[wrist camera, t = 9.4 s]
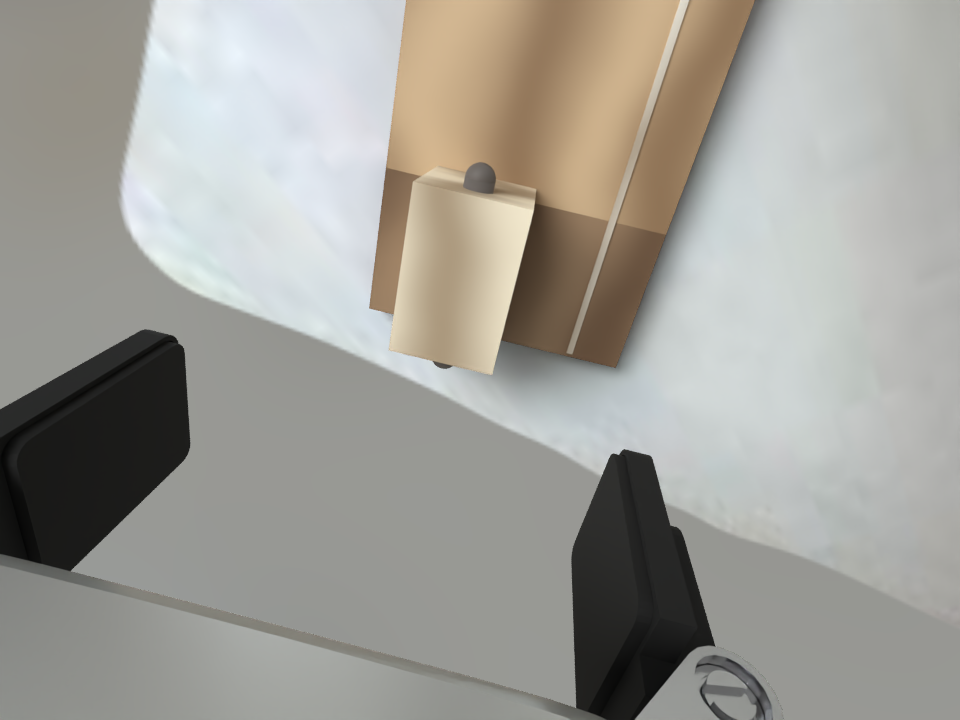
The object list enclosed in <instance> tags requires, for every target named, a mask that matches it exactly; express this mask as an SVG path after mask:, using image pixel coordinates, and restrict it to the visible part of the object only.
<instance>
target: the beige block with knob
mask: <svg viewBox="0 0 960 720" xmlns="http://www.w3.org/2000/svg"><path fill="white" fill-rule="evenodd" d="M535 197H536V189H534V188H530V187H526V186H522V185H517V184H513V183H509V182H505V181H501V180H497V179H496V175H495V172H494V170H493V168H492V167H491V166H490V165H488V164H486V163H483V162H478V163H474V164H473V165H471V166H470V167H469V168H468V169H467V171H466V172H463V171H459V170H455V169H451V168H447V167H442V166H437V167H435V168H434V169H432V170H431V171H429V172H427V173H426V174H424V175H423V176H421V177H419V178H418V179H416V180H415V181H413V185H412V192H411V199H410V206H409V213H408V220H407V226H406V233H405V240H404V247H403V254H402V261H401V268H400V275H399V282H398V289H397V296H396V303H395V310H394V317H393V324H392V330H391V337H390V344H389V350H390V351H394V352H398V353H402V354H406V355H410V356H415V357H419V358H423V359H427V360H431V361H433V362H434V364H435V365H436V366H437V367H439V368H443V369H447V368H450V367H452V366H456V367H460V368H464V369H468V370H472V371H476V372H481V373H485V374H489V375H492V373H493V369H494V365H495V361H496V357H497V354H498V350H499V346H500V342H501V338H502V334H503V330H504V326H505V322H506V318H507V314H508V310H509V306H510V302H511V298H512V295H513V291H514V287H515V283H516V279H517V275H518V271H519V267H520V263H521V259H522V255H523V251H524V247H525V243H526V240H527V236H528V232H529V228H530V224H531V220H532V216H533V212H534V205H535Z"/></svg>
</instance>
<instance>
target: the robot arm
mask: <svg viewBox="0 0 960 720" xmlns="http://www.w3.org/2000/svg"><path fill="white" fill-rule="evenodd" d="M189 448H190V432H189V416H188V400H187V385H186V368H185V353H184V348H183V346H181V345H180V344H178V341H177V339H176V338H175V337H174V336H172V335H168V334H164V333H159V332H156V331H152V330H142V331H140V332H138V333H136V334H134V335H132V336H130V337H129V338H127V339H125V340H123V341H122V342H120V343H118V344H116V345H115V346H113V347H111V348H109V349H107V350H105V351H104V352H102V353H100V354H99V355H97V356H95V357H93V358H91V359H89V360H88V361H86V362H84V363H82V364H80V365H79V366H77V367H75V368H73V369H72V370H70V371H68V372H66V373H64V374H63V375H61V376H59V377H57V378H55V379H54V380H52V381H50V382H49V383H47V384H45V385H43V386H41V387H39V388H38V389H36V390H34V391H32V392H31V393H29V394H27V395H25V396H23V397H22V398H20V399H18V400H16V401H14V402H13V403H11V404H9V405H7V406H5V407H4V408H2V409H0V720H784V718H783V712H782V708H781V705H780V703H779V700H778V698H777V696H776V694H775V692H774V691H773V689H772V688H771V686H770V685H769V683H768V682H767V681H766V679H765V678H764V677H763V676H762V675H761V674H760V673H759V672H758V671H757V670H756V669H755V668H754V667H753V666H752V665H751V664H750V663H748V662H747V661H746V660H744V659H743V658H741V657H740V656H739V655H737V654H735V653H733V652H730V651H728V650H726V649H724V648H720V647H715V644H714V640H713V637H712V634H711V630H710V627H709V623H708V620H707V616H706V613H705V609H704V606H703V602H702V599H701V596H700V592H699V589H698V585H697V582H696V578H695V575H694V571H693V568H692V565H691V562H690V558H689V554H688V551H687V547H686V544H685V540H684V537H683V535H682V532H681V531H680V530H679V529H678V528H677V527H673V526H670V523H669V519H668V516H667V512H666V508H665V504H664V500H663V497H662V493H661V489H660V485H659V482H658V478H657V474H656V470H655V467H654V463H653V459H652V457H651V456H649V455H645V454H641V453H637V452H633V451H629V450H625V449H624V450H622V451H621V453H620V455H617V454H612V455H611V456H610V458H609V460H608V463H607V465H606V467H605V470H604V472H603V475H602V477H601V480H600V482H599V484H598V488H597V490H596V492H595V494H594V497H593V499H592V501H591V504H590V506H589V509H588V511H587V514H586V516H585V518H584V521H583V523H582V526H581V528H580V531H579V533H578V536H577V538H576V540H575V543H574V546H573V551H572V592H573V620H574V621H573V622H574V652H575V679H576V680H575V681H576V708H574V707H571V706H568V705H565V704H562V703H559V702H556V701H553V700H550V699H547V698H543V697H540V696H536V695H533V694H529V693H526V692H523V691H519V690H516V689H512V688H508V687H505V686H501V685H498V684H495V683H491V682H488V681H484V680H480V679H477V678H474V677H470V676H467V675H463V674H459V673H455V672H452V671H448V670H445V669H441V668H437V667H433V666H430V665H426V664H422V663H418V662H414V661H411V660H407V659H403V658H399V657H396V656H392V655H389V654H385V653H381V652H377V651H373V650H370V649H366V648H362V647H359V646H355V645H351V644H347V643H344V642H340V641H336V640H333V639H329V638H325V637H321V636H317V635H314V634H310V633H306V632H302V631H298V630H295V629H291V628H287V627H283V626H279V625H276V624H272V623H268V622H264V621H260V620H256V619H253V618H249V617H245V616H241V615H237V614H234V613H230V612H226V611H222V610H218V609H214V608H211V607H207V606H203V605H199V604H195V603H191V602H188V601H183V600H180V599H176V598H172V597H168V596H164V595H160V594H157V593H153V592H149V591H145V590H141V589H137V588H133V587H129V586H126V585H122V584H118V583H114V582H110V581H106V580H102V579H98V578H94V577H90V576H86V575H82V574H79V573H75V572H71V570H72V569H73V568H74V567H75V566H76V565H77V564H78V563H79V562H80V561H81V560H82V559H83V558H84V557H85V556H86V555H87V554H88V553H89V552H90V551H91V550H92V549H93V548H94V547H95V546H97V545H98V544H99V543H100V542H101V541H102V540H103V539H104V538H105V537H106V536H107V535H108V534H109V533H110V532H111V531H112V530H113V529H114V528H115V527H116V526H117V525H118V524H119V523H120V522H121V521H122V520H123V519H124V518H125V517H126V516H127V515H128V514H129V513H130V512H131V511H132V510H133V509H134V508H135V507H137V506H138V505H139V504H140V503H141V502H142V501H143V500H144V499H145V498H146V497H147V496H148V495H149V494H150V493H151V492H152V491H153V490H154V489H155V488H156V487H157V486H158V485H159V484H160V483H161V482H162V481H163V480H164V479H165V478H166V477H167V476H168V475H169V474H170V473H171V472H172V471H174V470H175V469H176V467H178V466H179V465H180V464H181V463H182V462H183V461H184V459H185V458H186V456H187V455H188V452H189Z"/></svg>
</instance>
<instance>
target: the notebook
mask: <svg viewBox="0 0 960 720" xmlns="http://www.w3.org/2000/svg"><path fill="white" fill-rule="evenodd" d="M754 1H755V0H406V6H405V15H404V23H403V31H402V40H401V48H400V56H399V65H398V73H397V81H396V90H395V98H394V106H393V115H392V123H391V131H390V140H389V148H388V156H387V165H386V173H385V181H384V190H383V198H382V206H381V215H380V223H379V231H378V240H377V248H376V256H375V265H374V273H373V281H372V290H371V298H370V307H369V308H370V309H374V310H378V311H382V312H386V313H391V314H394V310H395V303H396V296H397V289H398V282H399V275H400V268H401V261H402V254H403V247H404V240H405V233H406V226H407V220H408V213H409V206H410V199H411V192H412V185H413V181H415V180H416V179H418V178H419V177H421V176H423V175H424V174H426V173H427V172H429V171H431V170H432V169H434V168H435V167H437V166H442V167H447V168H451V169H455V170H459V171H463V172H466V171H467V169H468V168H469V167H470V166H471V165H473V164H474V163H478V162H483V163H486V164H488V165H490V166H491V167H492V168H493V170H494V172H495V175H496V179H497V180H501V181H505V182H509V183H513V184H517V185H522V186H526V187H530V188H534V189H536V197H535V205H534V212H533V216H532V220H531V224H530V228H529V232H528V236H527V240H526V243H525V247H524V251H523V255H522V259H521V263H520V267H519V271H518V275H517V279H516V283H515V287H514V291H513V295H512V298H511V302H510V306H509V310H508V314H507V318H506V322H505V326H504V330H503V334H502V338H501V340H502V341H506V342H511V343H515V344H519V345H523V346H527V347H531V348H535V349H539V350H544V351H548V352H552V353H556V354H560V355H564V356H568V357H573V358H577V359H581V360H585V361H589V362H593V363H597V364H602V365H606V366H610V367H614V368H616V366H617V363H618V360H619V358H620V355H621V352H622V350H623V347H624V344H625V342H626V339H627V337H628V334H629V331H630V329H631V326H632V323H633V321H634V318H635V315H636V313H637V310H638V307H639V305H640V302H641V300H642V297H643V294H644V292H645V289H646V286H647V284H648V281H649V278H650V276H651V273H652V271H653V268H654V265H655V263H656V260H657V257H658V255H659V252H660V249H661V247H662V244H663V242H664V239H665V236H666V234H667V231H668V228H669V226H670V223H671V220H672V218H673V215H674V213H675V210H676V207H677V205H678V202H679V199H680V197H681V194H682V191H683V189H684V186H685V184H686V181H687V178H688V176H689V173H690V170H691V168H692V165H693V162H694V160H695V157H696V154H697V152H698V149H699V147H700V144H701V141H702V139H703V136H704V133H705V131H706V128H707V125H708V123H709V120H710V118H711V115H712V112H713V110H714V107H715V104H716V102H717V99H718V96H719V94H720V91H721V89H722V86H723V83H724V81H725V78H726V75H727V73H728V70H729V67H730V65H731V62H732V60H733V57H734V54H735V52H736V49H737V46H738V44H739V41H740V38H741V36H742V33H743V31H744V28H745V25H746V23H747V20H748V17H749V15H750V12H751V9H752V7H753V4H754Z"/></svg>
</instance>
